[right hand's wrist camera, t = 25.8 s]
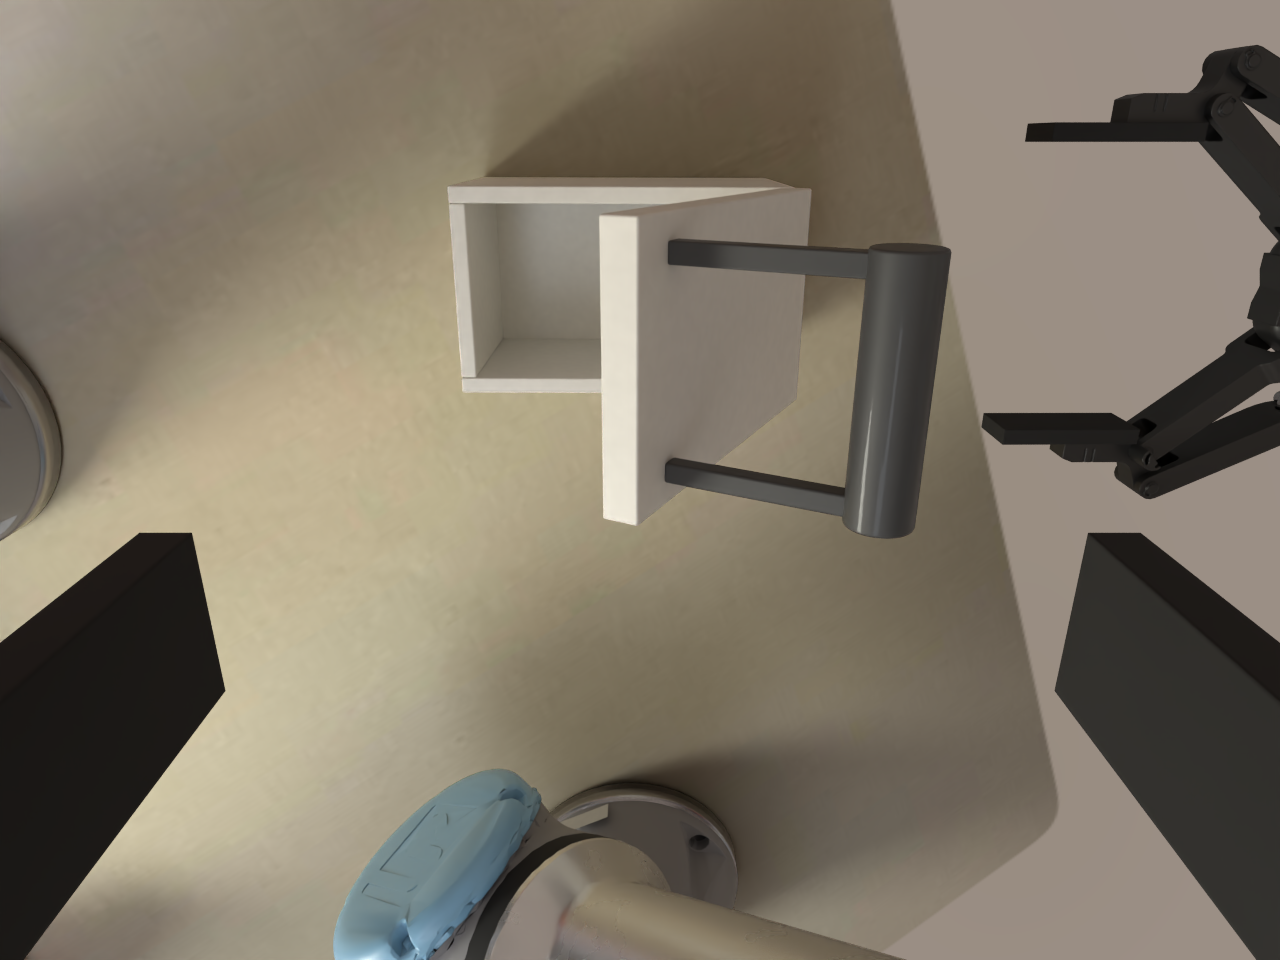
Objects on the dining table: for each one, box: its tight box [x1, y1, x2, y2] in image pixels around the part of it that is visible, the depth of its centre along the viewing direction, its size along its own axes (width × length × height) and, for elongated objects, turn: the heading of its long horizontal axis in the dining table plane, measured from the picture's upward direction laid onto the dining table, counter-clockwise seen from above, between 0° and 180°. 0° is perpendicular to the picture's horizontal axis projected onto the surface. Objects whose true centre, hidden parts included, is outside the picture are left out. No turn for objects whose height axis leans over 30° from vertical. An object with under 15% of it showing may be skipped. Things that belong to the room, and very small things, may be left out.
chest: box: [447, 177, 795, 393], centre depth 43 cm, size 15×9×9 cm, turn 90°
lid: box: [599, 188, 951, 539], centre depth 30 cm, size 16×9×9 cm
